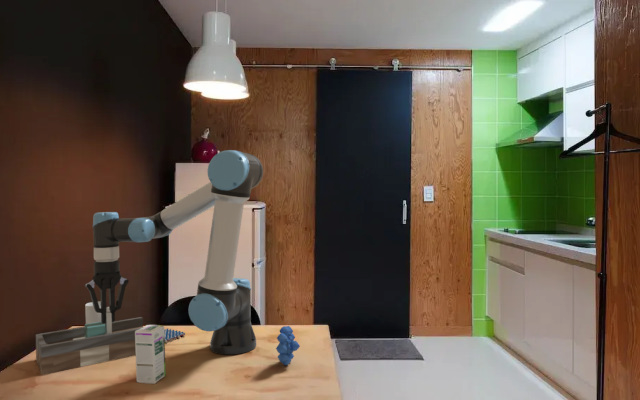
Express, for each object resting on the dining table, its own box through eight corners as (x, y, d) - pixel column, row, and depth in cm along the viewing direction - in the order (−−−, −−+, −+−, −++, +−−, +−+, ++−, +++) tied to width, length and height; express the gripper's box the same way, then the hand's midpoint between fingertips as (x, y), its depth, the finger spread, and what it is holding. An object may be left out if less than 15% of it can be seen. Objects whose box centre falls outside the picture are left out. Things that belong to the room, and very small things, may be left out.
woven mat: (142, 341, 163) (142, 335, 163) (166, 333, 172) (166, 327, 172) (163, 346, 157) (162, 340, 157) (186, 337, 166) (186, 331, 166)
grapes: (294, 373, 131) (294, 331, 131) (271, 371, 133) (271, 330, 133) (305, 359, 143) (304, 320, 142) (284, 357, 144) (284, 319, 144)
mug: (81, 339, 164) (81, 305, 163) (92, 333, 170) (92, 301, 170) (108, 340, 163) (108, 306, 163) (118, 334, 170) (118, 301, 169)
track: (155, 350, 151) (154, 326, 151) (41, 375, 132) (41, 347, 132) (141, 339, 163) (141, 316, 163) (36, 359, 144) (35, 334, 144)
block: (105, 340, 146) (104, 325, 146) (87, 343, 144) (87, 327, 143) (101, 336, 151) (101, 321, 150) (85, 339, 148) (84, 324, 147)
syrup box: (155, 384, 125) (154, 331, 125) (135, 382, 126) (134, 330, 126) (166, 376, 130) (165, 325, 130) (147, 374, 132) (146, 324, 131)
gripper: (124, 256, 156) (126, 326, 156) (82, 260, 148) (83, 333, 148) (131, 259, 150) (132, 331, 150) (86, 263, 142) (88, 339, 142)
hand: (108, 332), depth 149 cm, fingers closed
